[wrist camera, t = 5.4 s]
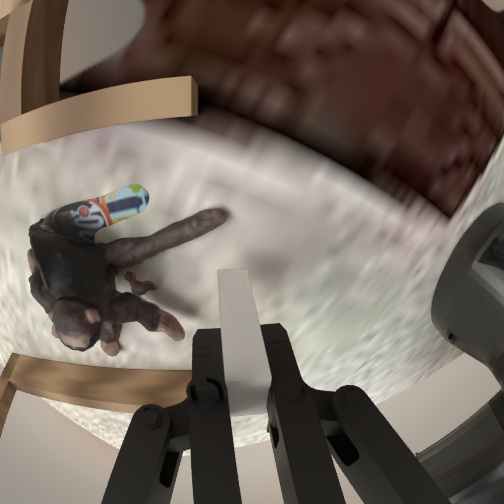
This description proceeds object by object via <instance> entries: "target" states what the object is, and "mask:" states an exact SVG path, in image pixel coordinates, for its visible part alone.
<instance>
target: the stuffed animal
mask: <svg viewBox="0 0 504 504" xmlns="http://www.w3.org/2000/svg"><path fill="white" fill-rule="evenodd" d="M148 201H149V193H148V191H147V190H146V189H145V188H144V187H142V186H141V185H138V184H132V185H129V186H126V187H124V188H122V189H119V190H117V191H114V192H112V193H109V194H106V195H104V196H101V197H98V198H94V199H89V200H84V201H80V202H76V203H72V204H69V205H66V206H63V207H60V208H58V209H56V210H54V211H52V212H51V213H49V214H48V215H47V216H46V218H45V219H43V218H41V219H40V221H39V222H37V223H35V224H33V225H31V226H30V228H29V237H30V243H31V247H32V249H29V250H28V254H27V257H28V261H29V265H30V269H31V272H32V275H31V276H30V277H29V282H30V287H31V294H32V295H33V297H34V298H35V299H36V300H37V301H38V303H39V304H40V305H41V306H42V307H43V308H44V309H45V312H46V313H47V314H49V318H50V319H51V320H52V322H53V323H54V324H53V326H52V334H53V336H55V337H56V338H60V340H61V342H62V343H63V344H64V345H65V346H67V347H68V348H70V349H72V350H79V351H82V352H83V351H86V350H88V349H89V348H91V347H93V346H94V344H95V343H96V342H97V341H98V340H99V339H100V341H101V348H102V350H103V351H104V352H106V353H107V354H108V355H110V356H116V355H117V354H118V353H119V346H118V341H117V340H118V338H119V335H120V330H121V323H126V322H134V321H137V322H139V323H140V324H142V325H143V326H144V327H145V328H146V329H147V330H148V331H151V332H159V331H162V332H164V333H166V334H167V335H168V336H170V337H171V338H172V339H173V340H175V341H180V340H183V339H184V336H185V331H184V329H183V327H182V326H181V325H180V323H179V322H178V320H177V319H176V318H175V317H174V316H173V315H171V314H170V313H168V312H165V311H163V310H162V309H160V308H159V307H158V306H157V305H156V304H154V303H151V302H148V301H146V300H144V299H143V298H141V297H140V296H139V295H144V294H145V293H146V292H147V291H149V290H157V288H158V287H157V285H155V284H154V283H153V282H151V281H145V282H139V281H137V280H136V274H135V273H133V272H126V274H125V276H124V278H125V279H126V280H127V281H129V282H130V284H131V286H132V292H133V293H134V294H133V293H130V292H124V293H120V292H118V291H117V290H116V287H115V276H116V274H117V270H121V269H125V268H128V267H132V266H134V265H135V264H138V263H141V262H143V261H144V260H145V259H147V258H150V257H153V256H155V255H156V254H157V253H159V252H160V251H164V250H166V249H169V248H173V247H176V246H178V245H180V244H183V243H185V242H188V241H190V240H193V239H195V238H197V237H199V236H201V235H203V234H205V233H207V232H209V231H211V230H213V229H215V228H217V227H218V226H220V225H222V224H223V223H224V222H225V221H226V215H225V213H224V212H223V211H222V210H220V209H209V210H203V211H200V212H198V213H197V214H195V215H193V216H191V217H188V218H186V219H184V220H182V221H179V222H176V223H173V224H171V225H169V226H168V227H166V228H164V229H162V230H160V231H158V232H156V233H154V234H152V235H150V236H147V237H137V238H121V239H117V240H115V241H113V242H110V243H108V244H103V243H97V244H95V242H94V235H95V233H96V232H97V231H98V230H99V229H101V228H103V227H107V226H110V225H112V224H114V223H117V222H119V221H121V220H124V219H127V218H129V217H132V216H134V215H136V214H138V213H140V212H142V211H143V210H144V209H145V207H146V206H147V205H148Z"/></svg>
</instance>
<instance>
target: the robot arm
mask: <svg viewBox="0 0 504 504" xmlns="http://www.w3.org/2000/svg"><path fill="white" fill-rule="evenodd" d="M217 272H218V291H219V307H220V323H221V328H212V329H198V330H197V331H196V333H195V335H194V337H193V344H192V349H193V350H192V379H191V381H190V382H189V383H188V384H187V388H186V394H187V398H186V399H185V400H184V401H182V402H180V403H178V404H175V405H172V406H168V407H165V408H163V407H161V406H159V405H157V404H147V405H143V406H141V407H140V408H138V409H137V410H136V412H135V413H134V415H133V417H132V420H131V422H130V425H129V427H128V430H127V433H126V435H125V438H124V440H123V443H122V446H121V448H120V451H119V454H118V456H117V459H116V462H115V465H114V468H113V470H112V473H111V476H110V479H109V482H108V485H107V488H106V491H105V493H104V497H103V500H102V503H101V504H170V501H171V497H172V493H173V489H174V485H175V481H176V477H177V473H178V469H179V466H180V462H181V458H182V454H183V451H185V450H189V449H191V469H192V485H193V498H194V504H242V500H241V494H240V487H239V481H238V473H237V466H236V459H235V451H234V443H233V435H232V427H231V419H230V416H243V415H254V414H263V413H266V411H267V412H268V417H269V420H268V425H267V433H268V432H269V433H270V438H271V443H272V448H273V452H274V457H275V462H276V467H277V472H278V477H279V482H280V486H281V491H282V496H283V500H284V504H346V502H345V499H344V496H343V492H342V489H341V486H340V483H339V479H338V476H337V473H336V470H335V467H334V463H333V460H332V457H331V455H332V456H333V458H334V459H335V461H336V462H337V464H338V465H339V467H340V468H341V470H342V471H343V473H344V474H345V476H346V477H347V479H348V480H349V482H350V483H351V485H352V486H353V488H354V489H355V490H356V492H357V494H358V495H359V497H360V498H361V500H362V501H363V502H364V504H504V203H499V204H496V205H494V206H492V207H491V208H489V209H488V210H486V211H485V212H484V213H483V214H482V215H481V216H480V217H479V218H478V219H477V220H476V221H475V222H474V223H473V224H472V226H471V227H470V228H469V229H468V231H467V232H466V234H465V235H464V236H463V238H462V239H461V241H460V242H459V244H458V245H457V247H456V249H455V250H454V252H453V254H452V255H451V257H450V259H449V261H448V263H447V265H446V267H445V269H444V271H443V273H442V275H441V278H440V280H439V283H438V285H437V288H436V291H435V294H434V298H433V302H432V309H431V317H432V322H433V324H434V326H435V327H436V328H437V330H438V331H439V332H440V333H441V335H442V336H443V337H444V339H445V340H446V341H448V342H449V343H451V344H453V345H454V346H456V347H457V348H459V349H460V350H462V351H463V352H465V353H467V354H468V355H470V356H472V357H473V358H475V359H476V360H478V361H480V362H481V363H483V364H484V365H486V366H487V367H488V368H489V369H490V371H491V372H492V373H493V375H494V376H495V378H496V379H497V381H498V382H499V384H500V386H501V390H500V391H499V392H498V393H497V394H496V395H495V396H494V397H492V399H490V400H489V402H487V403H486V404H485V405H484V406H483V407H481V408H480V409H479V410H478V411H477V412H476V413H474V414H473V415H472V416H471V417H469V418H468V419H467V420H466V421H465V422H463V423H462V424H461V425H459V426H458V427H457V428H455V429H454V430H453V431H451V432H450V433H449V434H447V435H446V436H445V437H443V438H442V439H440V440H439V441H437V442H436V443H434V444H433V445H431V446H430V447H428V448H427V449H425V450H423V451H422V452H420V453H418V452H417V453H415V454H413V453H412V452H411V450H410V449H409V448H408V447H407V445H406V444H405V443H404V442H403V440H402V439H401V438H400V436H399V435H398V434H397V433H396V431H395V430H394V429H393V428H392V426H391V425H390V424H389V422H388V421H387V420H386V418H385V417H384V416H383V415H382V413H381V412H380V411H379V410H378V408H377V407H376V406H375V404H374V403H373V402H372V401H371V399H370V398H369V397H368V395H367V394H366V393H365V392H364V391H363V390H362V389H361V388H359V387H357V386H354V385H345V386H342V387H340V388H339V389H337V390H336V392H333V391H322V390H317V389H314V388H311V387H310V386H308V385H307V384H306V383H305V382H304V381H303V379H302V377H301V375H300V371H299V368H298V365H297V362H296V359H295V356H294V352H293V350H292V346H291V343H290V340H289V337H288V334H287V331H286V330H285V329H284V328H283V327H282V325H281V324H280V323H275V324H264V325H260V324H259V319H258V315H257V310H256V306H255V301H254V297H253V292H252V288H251V283H250V279H249V274H248V270H247V268H243V269H223V270H217Z"/></svg>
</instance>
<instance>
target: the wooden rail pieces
mask: <svg viewBox="0 0 504 504" xmlns="http://www.w3.org/2000/svg"><path fill="white" fill-rule="evenodd" d="M67 5H68V0H1V1H0V47H1V46H3V45H4V49H3V57H2V67H1V80H0V127H1V141H2V151H3V155H6V154H9V153H11V152H14V151H17V150H20V149H23V148H26V147H29V146H32V145H35V144H38V143H41V142H45V141H48V140H52V139H55V138H59V137H63V136H67V135H71V134H75V133H79V132H83V131H88V130H92V129H97V128H102V127H107V126H113V125H119V124H125V123H131V122H138V121H145V120H153V119H162V118H172V117H184V116H197V115H198V85H197V83H196V82H195V81H194V79H193V78H192V76H183V77H173V78H164V79H156V80H148V81H142V82H136V83H130V84H124V85H119V86H114V87H110V88H105V89H101V90H97V91H92V92H89V93H85V94H81V95H78V96H74V97H71V98H67V99H64V100H61V101H60V61H61V48H62V38H63V30H64V23H65V16H66V11H67ZM191 379H192V370H182V371H170V370H135V369H118V368H105V367H95V366H85V365H77V364H69V363H62V362H56V361H50V360H44V359H38V358H33V357H28V356H23V355H19V354H14V353H12V354H11V356H10V358H9V360H8V362H7V364H6V366H5V368H4V371H3V372H2V375H1V377H0V437H1V433H2V430H3V427H4V423H5V420H6V417H7V414H8V411H9V408H10V406H11V403H12V400H13V397H14V395H15V392H16V390H19V391H23V392H25V393H29V394H32V395H36V396H39V397H43V398H47V399H51V400H55V401H60V402H64V403H69V404H74V405H79V406H84V407H90V408H96V409H103V410H110V411H118V412H127V413H135V412H136V410H137V409H138V408H140V407H141V406H143V405H147V404H157V405H159V406H161V407H163V408H165V407H168V406H172V405H175V404H178V403H180V402H182V401H184V400H185V399H186V398H187V394H186V388H187V384H188V383H189V382H190V381H191Z"/></svg>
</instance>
